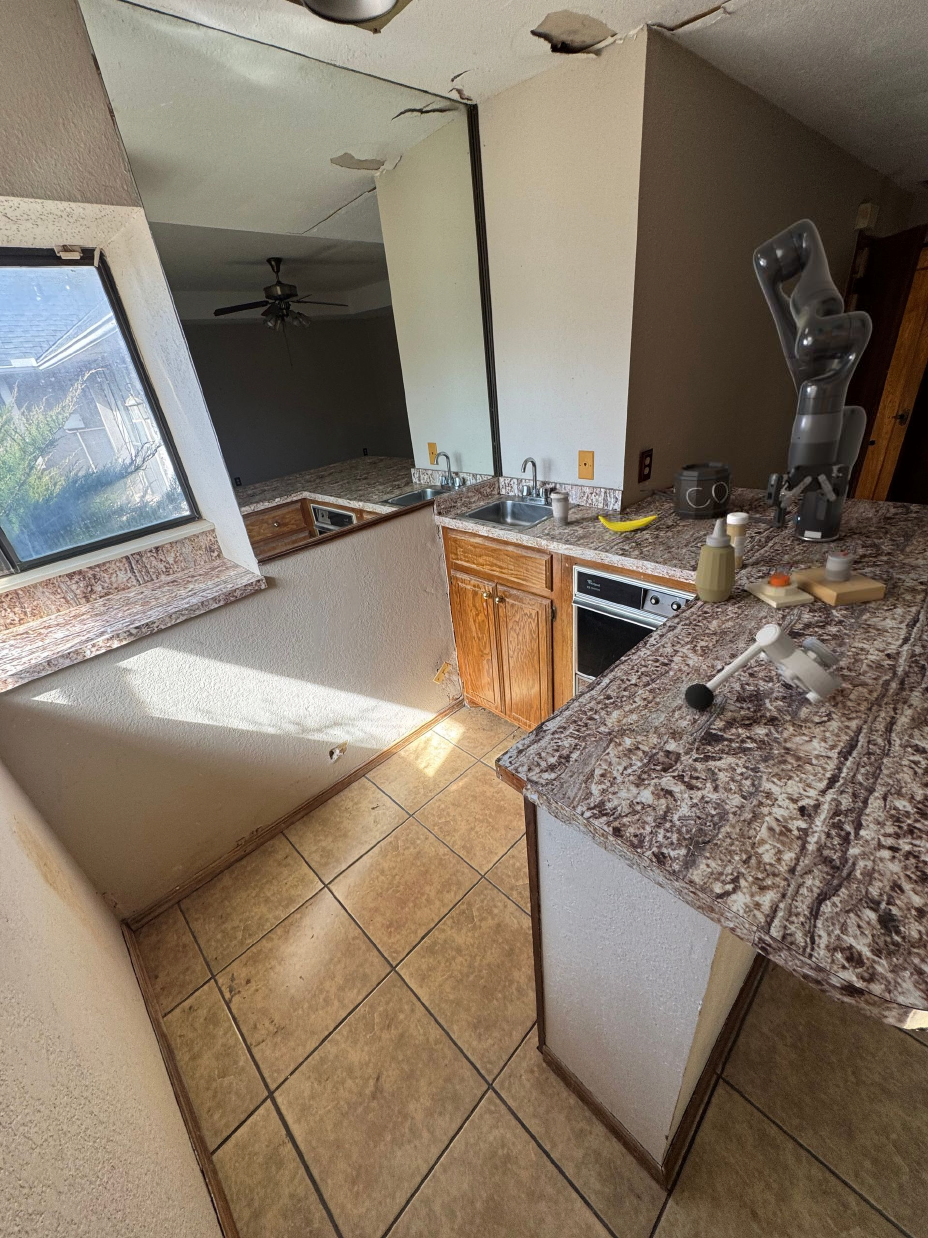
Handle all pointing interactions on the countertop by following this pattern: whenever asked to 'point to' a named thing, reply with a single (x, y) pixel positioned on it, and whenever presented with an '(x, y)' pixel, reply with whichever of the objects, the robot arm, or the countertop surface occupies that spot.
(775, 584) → the button
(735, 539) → the sprinkles bottle
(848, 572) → the knob
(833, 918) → the countertop surface
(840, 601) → the panel
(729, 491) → the octagonal grey canister
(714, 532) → the squeeze bottle
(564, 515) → the cup
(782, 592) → the button block
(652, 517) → the banana
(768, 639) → the valve
